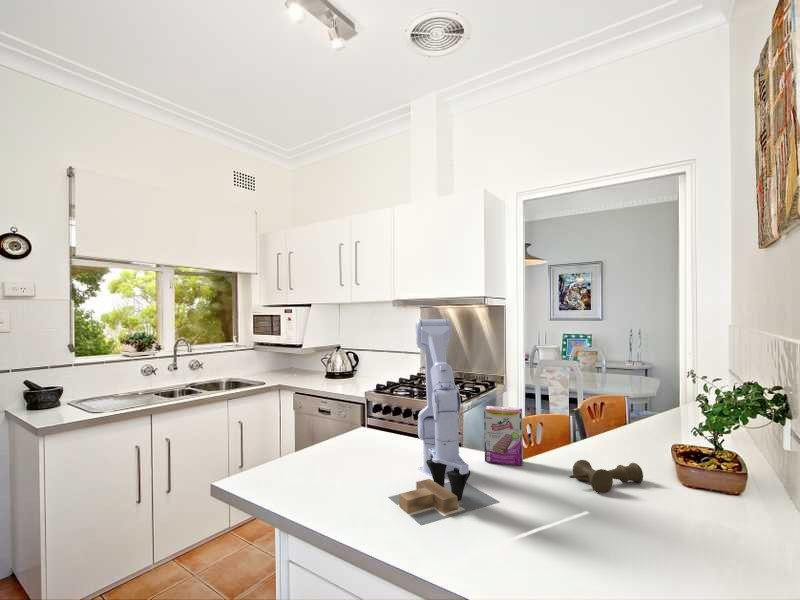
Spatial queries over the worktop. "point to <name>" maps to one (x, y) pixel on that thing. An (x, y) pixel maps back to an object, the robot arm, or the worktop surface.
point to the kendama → (606, 475)
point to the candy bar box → (503, 435)
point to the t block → (428, 498)
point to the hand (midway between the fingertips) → (448, 494)
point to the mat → (469, 502)
